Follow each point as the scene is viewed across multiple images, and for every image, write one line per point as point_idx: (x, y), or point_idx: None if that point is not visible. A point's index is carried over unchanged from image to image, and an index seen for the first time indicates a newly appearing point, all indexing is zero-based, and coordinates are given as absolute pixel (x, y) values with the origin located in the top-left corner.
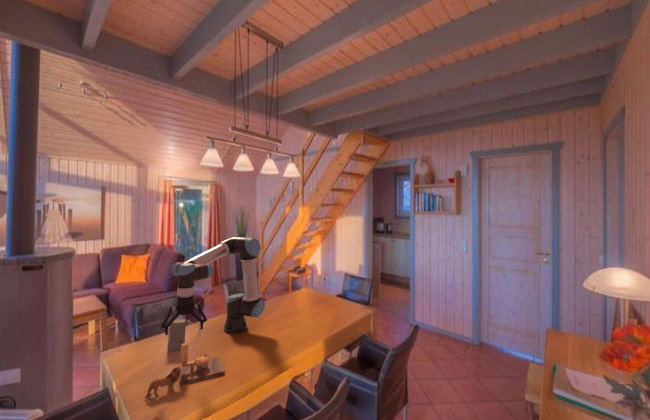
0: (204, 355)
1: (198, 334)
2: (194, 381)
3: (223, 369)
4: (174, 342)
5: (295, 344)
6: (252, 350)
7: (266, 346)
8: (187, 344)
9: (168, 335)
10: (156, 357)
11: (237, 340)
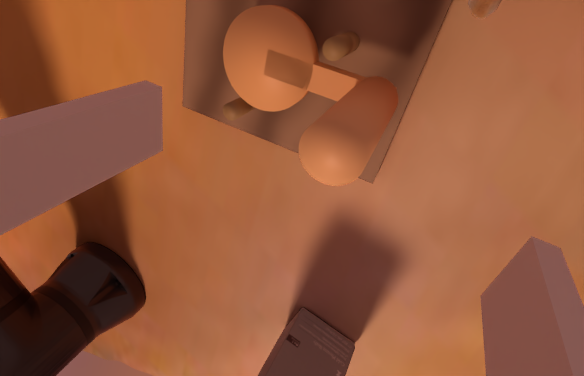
0: (238, 109)
1: (148, 134)
2: None
3: None
4: (320, 356)
5: None
6: (64, 68)
7: (14, 57)
8: (306, 133)
9: (581, 340)
10: (415, 338)
11: (112, 197)
